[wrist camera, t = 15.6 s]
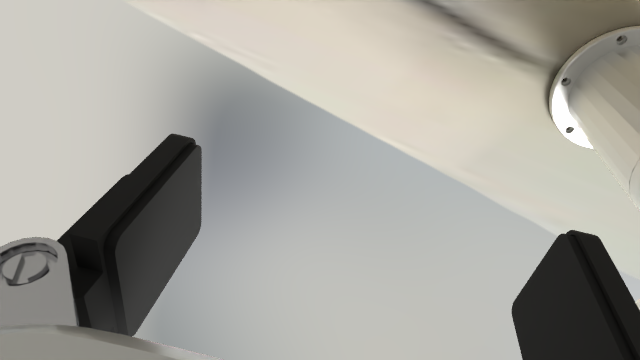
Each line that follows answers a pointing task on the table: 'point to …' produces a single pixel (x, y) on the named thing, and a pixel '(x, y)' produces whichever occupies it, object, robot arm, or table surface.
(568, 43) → the table surface
